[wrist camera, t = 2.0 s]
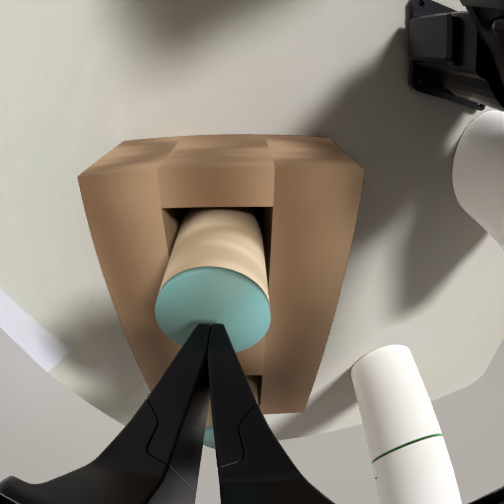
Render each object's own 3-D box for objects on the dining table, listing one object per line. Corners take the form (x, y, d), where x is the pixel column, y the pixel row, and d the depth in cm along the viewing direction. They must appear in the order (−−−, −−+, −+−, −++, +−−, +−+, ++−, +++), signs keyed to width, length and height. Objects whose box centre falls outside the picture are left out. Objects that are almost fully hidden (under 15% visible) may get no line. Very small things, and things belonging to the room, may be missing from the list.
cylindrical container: (352, 388, 32) (389, 581, 11) (347, 358, 28) (394, 594, 8) (408, 370, 31) (460, 554, 10) (412, 336, 27) (483, 558, 6)
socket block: (328, 137, 16) (364, 171, 12) (295, 357, 28) (304, 411, 23) (123, 141, 16) (77, 176, 11) (169, 356, 27) (160, 410, 22)
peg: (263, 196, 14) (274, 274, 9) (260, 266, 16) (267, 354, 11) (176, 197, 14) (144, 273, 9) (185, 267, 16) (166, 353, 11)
